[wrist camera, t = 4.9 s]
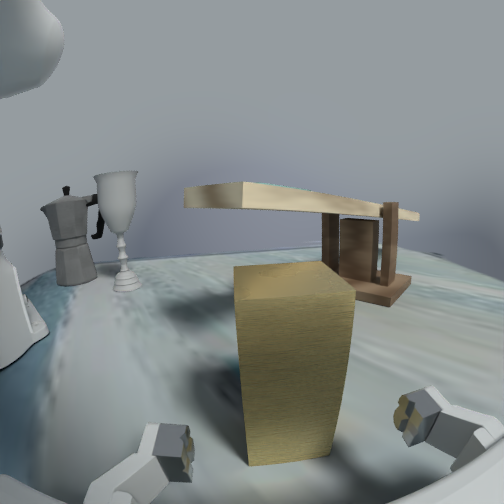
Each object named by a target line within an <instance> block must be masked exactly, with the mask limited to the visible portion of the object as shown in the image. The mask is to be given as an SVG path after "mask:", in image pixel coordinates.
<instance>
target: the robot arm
mask: <svg viewBox="0 0 504 504" xmlns="http://www.w3.org/2000/svg"><path fill="white" fill-rule="evenodd" d="M63 47H64V32H63V28H62V25H61V24H60V22H59V20H58V19H57V18H56V16H54V15H53V14H52V13H51V12H50V11H48V9H47V8H46V7H45V6H44V4H43V3H42V1H41V0H0V99H2V98H8V97H11V96H14V95H17V94H20V93H23V92H26V91H29V90H31V89H34V88H37V87H40V86H41V85H42V84H44V83H45V81H46V80H47V79H48V78H49V77H50V76H51V74H52V73H53V71H54V70H55V68H56V66H57V65H58V63H59V61H60V58H61V55H62V52H63ZM1 234H2V231H1V228H0V369H2V368H4V367H5V366H7V365H9V364H10V363H12V362H13V361H15V360H16V359H17V358H19V357H20V356H21V355H22V354H23V353H24V352H25V351H26V350H27V349H28V348H29V347H30V346H31V345H32V344H33V343H35V342H36V341H38V340H40V339H42V338H43V337H45V336H46V335H47V334H48V333H49V329H48V327H47V325H46V323H45V322H44V320H43V319H42V317H41V316H40V314H39V313H38V311H37V310H36V309H35V307H34V305H33V304H32V302H31V301H30V299H28V298H27V296H26V295H25V294H23V295H22V292H21V288H20V284H19V280H18V275H17V271H16V267H13V266H12V263H10V262H9V261H8V260H7V259H6V257H5V256H4V254H3V251H2V247H3V241H2V235H1ZM398 403H399V407H398V408H397V409H396V410H395V412H394V416H393V418H394V424H395V427H396V428H397V430H399V431H401V432H403V435H402V438H403V439H404V441H405V442H406V444H407V446H408V447H411V446H413V445H416V444H419V443H421V442H424V441H425V442H426V443H428V444H430V445H432V446H434V447H435V448H437V449H439V450H441V451H443V452H445V453H447V454H449V455H451V456H453V457H455V458H456V460H455V461H454V462H453V464H452V465H451V467H450V469H451V471H452V473H450V474H449V475H447V476H445V477H443V478H441V479H440V480H438V481H436V482H434V483H432V484H430V485H428V486H426V487H424V488H422V489H420V490H417V491H415V492H413V493H411V494H409V495H406V496H404V497H402V498H399V499H397V500H394V501H392V502H389V503H387V504H504V426H503V425H502V424H501V423H500V422H499V421H498V420H497V419H496V418H495V417H493V416H489V415H486V414H482V413H479V412H476V411H472V410H469V409H466V408H463V407H460V406H456V405H453V406H452V405H451V404H450V403H449V402H448V401H447V400H446V399H445V398H444V397H443V396H442V395H441V394H440V392H439V391H438V390H437V389H436V388H435V387H434V386H432V385H430V386H427V387H425V388H422V389H419V390H416V391H413V392H410V393H407V394H404V395H402V396H401V397H400V398H399V401H398ZM194 456H195V450H194V442H193V439H192V438H191V437H190V429H189V426H188V425H176V424H163V423H151V422H148V423H147V424H146V426H145V429H144V432H143V435H142V439H141V442H140V445H139V448H138V452H137V453H133V454H131V455H130V456H129V457H127V458H126V459H124V460H123V461H122V462H120V463H119V464H118V465H116V466H115V467H113V468H112V469H110V470H109V471H108V472H106V473H105V474H103V475H102V476H100V477H99V478H97V479H96V480H94V481H93V482H91V483H90V486H89V489H88V491H87V494H86V497H85V500H84V502H83V504H150V503H151V502H152V501H153V500H154V498H155V497H156V496H157V495H158V494H159V493H160V492H161V491H162V490H163V489H164V488H165V487H166V486H167V485H168V484H169V482H186V483H192V477H193V467H192V465H191V463H192V462H193V461H194ZM0 504H68V503H65V502H63V501H60V500H58V499H55V498H53V497H51V496H48V495H46V494H44V493H42V492H40V491H37V490H35V489H33V488H31V487H29V486H27V485H25V484H24V483H22V482H20V481H18V480H16V479H15V478H13V477H11V476H9V475H6V474H1V475H0Z"/></svg>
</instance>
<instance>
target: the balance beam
mask: <svg viewBox="0 0 504 504" xmlns="http://www.w3.org/2000/svg"><path fill="white" fill-rule="evenodd" d="M184 208H223V209H254V210H277V211H298V212H314V213H329V214H343V215H356V216H369V217H380V218H383V205H381V204H376V203H371V202H366V201H361V200H356V199H351V198H346V197H340V196H335V195H329V194H324V193H318V192H311V190H305V189H299V188H292V187H287V186H280V185H273V184H265V183H250V182H234V183H224V184H215V185H205V186H196V187H188V188H184ZM398 219H402V220H403V219H404V220H414V221H419V213H417V212H413V211H407V210H403V209H399V208H398Z"/></svg>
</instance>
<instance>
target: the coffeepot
mask: <svg viewBox="0 0 504 504" xmlns="http://www.w3.org/2000/svg"><path fill="white" fill-rule="evenodd" d="M62 189H63V193H64V196H63V197H61V198H59V199H57V200H55V201H53V202H51V203H49V204H47V205H45V206H43V207H41V209H40V210H41V211H43V212H44V214H45V215H46V217H47V219H48V221H49V225H50V230H51V233H52V237H53V240H55V244H56V279H57V284H58V285H60V286H75V285H80V284H84V283H87V282H90V281H92V280H94V279H95V278H96V277H97V272H96V269H95V266H94V262H93V259H92V256H91V253H90V249H89V246H88V243H87V238H86V234H87V209H88V206H91V205H94V204H98V196H97V194H93V195H91V196H85V197H76V196H70V195H69V191H70V187H69V186H65V187H63V188H62ZM104 223H105V221H104V219H103V217H102V215H101V213H100V210H99V212H98V221H97V233H96V234H94V235H91V237H92V239H98V238H101V237H102V234H103V229H104Z"/></svg>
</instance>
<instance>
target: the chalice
mask: <svg viewBox="0 0 504 504" xmlns="http://www.w3.org/2000/svg"><path fill="white" fill-rule="evenodd" d="M137 173H138V171H119V172H110V173H104V174H99V175H95V176H94V179H95V181H96V183H97V196H98V208H99V210H100V213H101V215H102V217H103V219H104V221H105V223H106V224H107V226H108V228H109V229H110V231H111V232H113V233H115V234H116V235H117V238H118V244H117V248H118V249H119V257H118V259H119V260H120V263H121V270H120V271H121V272H119V273H118V274H117V275H116V277H115V281H114V287H113V290H114V291H117V292H126V291H132V290H135V289H138V288H140V287H141V286H142V283H141V282H140V281H139V278H138V277H137V276H136V275H137V274H136V273H135V272H133V271H130V270H129V269H128V267H127V258H128V256H127V255H126V253H125V247H126V244H125V243H124V239H123V233H124V232H126V231H127V230H128V229H129V226H130V223H131V220H132V218H133V215H134V211H135V206H136V189H135V178H136V175H137Z"/></svg>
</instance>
